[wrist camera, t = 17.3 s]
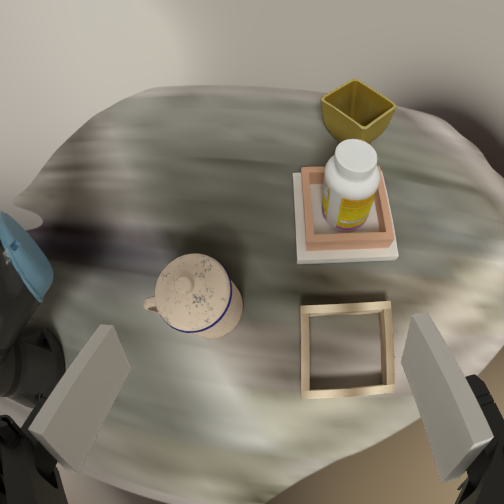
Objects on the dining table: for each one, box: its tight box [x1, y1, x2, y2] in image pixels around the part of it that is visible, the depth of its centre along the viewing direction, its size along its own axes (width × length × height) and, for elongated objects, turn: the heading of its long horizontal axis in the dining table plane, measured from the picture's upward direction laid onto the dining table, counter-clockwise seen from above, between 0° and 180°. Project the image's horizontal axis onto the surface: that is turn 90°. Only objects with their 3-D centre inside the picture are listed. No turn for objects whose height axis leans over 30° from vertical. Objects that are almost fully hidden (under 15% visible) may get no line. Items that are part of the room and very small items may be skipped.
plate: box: [293, 166, 398, 264], centre depth 42 cm, size 14×14×4 cm
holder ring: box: [300, 301, 395, 399], centre depth 36 cm, size 12×12×2 cm
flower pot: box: [321, 79, 397, 144], centre depth 45 cm, size 9×9×9 cm
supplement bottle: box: [322, 139, 380, 232], centre depth 37 cm, size 7×7×13 cm
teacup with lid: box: [144, 253, 243, 338], centre depth 37 cm, size 12×9×12 cm
